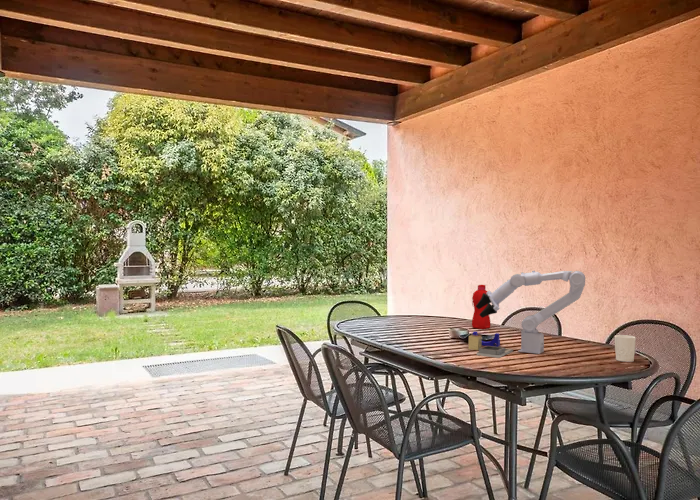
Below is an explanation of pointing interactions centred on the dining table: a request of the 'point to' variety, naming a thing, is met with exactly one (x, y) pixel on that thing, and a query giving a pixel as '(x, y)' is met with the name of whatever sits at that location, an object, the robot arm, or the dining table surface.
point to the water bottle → (479, 310)
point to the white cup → (625, 348)
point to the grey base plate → (493, 351)
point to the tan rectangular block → (475, 342)
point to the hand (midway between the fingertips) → (479, 311)
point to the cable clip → (494, 342)
